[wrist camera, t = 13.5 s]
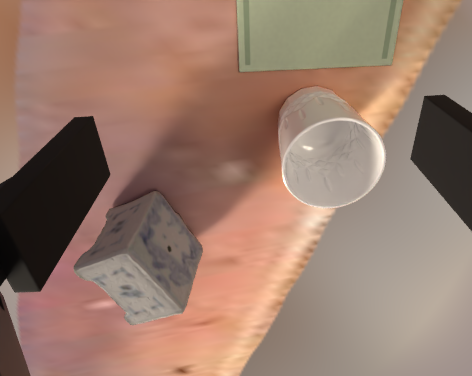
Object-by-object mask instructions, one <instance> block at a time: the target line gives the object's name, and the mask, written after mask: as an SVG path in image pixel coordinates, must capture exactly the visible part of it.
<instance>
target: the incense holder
mask: <svg viewBox="0 0 472 376" xmlns="http://www.w3.org/2000/svg"><path fill="white" fill-rule="evenodd" d="M106 219H107V221H106V225H105V227H104V228H103V230H102V232H101V234H100V235H99V236H98V238H97V240H96V242H95V244H94V245H93V246H92V247H91V248H90V250H88V251H87V252H85V253H83V255H82V256H81V257H80V258H79V259H78V261H77V262H76V264H75V265H74V272H75V273H76V275H77V276H79V277H80V278H82V279H84V280H87V281H93V282H95V283H96V284H97V285H98V286H100V287H101V288H102V289H103V290H104V291H105V292H106V293H107V294H108V295H109V296H110V297H111V298H112V299H113V300H114V301H115V302H116V303H117V305H119V306H120V307H121V308H122V309H123V310H124V311H125V312H126V314H125V317H124V318H125V320H126V321H127V322H128V323H129V324H130V325H136V324H141V323H145V322H150V321H152V320H157V319H160V318H165V317H169V316H172V315H176V314H182V313H183V312H184V309H185V308H186V305H187V302H188V298H189V295H190V292H191V289H192V284H193V280H194V278H195V275H196V271H197V268H198V263H199V261H200V259H201V256H202V253H203V248H202V245H201V244H200V242H199V241H198V240H197V239H196V238H195V236H194V235H193V234H192V233H191V232H190V231H189V229H188V228H187V227H186V225H185V224H184V222H183V220H182V218H181V216H180V215H179V214H178V213H175V212H174V210H173V209H172V208H171V206H170V205H169V204H168V202H167V201H166V200H165V198H164V197H163V196H162V194H160V193H159V192H158V191H153V192H151V193H149V194H147V195H145V196H142V197H141V198H139V199H136V200H134V201H132V202H129V203H127V204H125V205H121V206H119V207H115V208H111V209H109V211H108V212H107V214H106Z"/></svg>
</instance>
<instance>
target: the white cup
mask: <svg viewBox="0 0 472 376" xmlns="http://www.w3.org/2000/svg"><path fill="white" fill-rule="evenodd" d="M278 139H279V151H280V159H281V167H282V175H283V179H284V182H285V185H286V187H287V188H288V190H289V191H290V193H291V194H292V195H293V196H294V197H295V198H297V199H298V200H299V201H301V202H303V203H305V204H307V205H310V206H313V207H318V208H336V207H341V206H345V205H348V204H350V203H353V202H355V201H357V200H359V199H360V198H362V197H363V196H365V195H366V194H367V193H368V192H369V191H370V190H371V189H372V188H373V187H374V186H375V185H376V184H377V182H378V181H379V179H380V177H381V176H382V174H383V171H384V168H385V164H386V149H385V146H384V142H383V140H382V138H381V136H380V135H379V134H378V132H377V131H376V130H375V129H374V128H373V127H372V126H371V125H370V124H369V123H368V122H367V121H366V120H365V119H364V118H363V117H362V116H361V115H360V114H358V113H357V112H356V110H355V109H354V108H353V107H352V106H350V105H349V104H348V103H347V102H346V101H345V100H343V99H341V98H340V97H338V96H337V95H336V94H335V93H334V92H333V91H332V90H330V89H326V88H323V87H319V86H313V87H308V88H302V89H300V90H298V91H297V92H295V93H294V94H292V95H291V96H290V97H288V98H287V100H286V101H285V103H284V104H283V106H282V108H281V109H280V111H279V119H278Z"/></svg>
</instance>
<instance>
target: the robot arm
mask: <svg viewBox="0 0 472 376" xmlns="http://www.w3.org/2000/svg"><path fill="white" fill-rule="evenodd" d="M411 160H412V161H413V162H414V164H415V165H416V166H417V167H418V168H419V170H420V171H421V172H422V173H423V174H424V175H425V177H426V178H427V179H428V180H429V181H430V183H431V184H432V185H433V186H434V187H435V188H436V189H437V191H438V192H439V193H440V194H441V196H442V197H444V199H445V200H446V201H447V203H448V204H449V205H450V206H451V207H452V209H453V210H454V211H455V212H456V213H457V214H458V215H459V217H460V218H461V219H462V220H463V221H464V223H465V224H466V225H467V226H468V227H469V229H470V230H471V231H472V113H471V112H469V111H468V110H466V109H465V108H463V107H462V106H460V105H459V104H457V103H456V102H454V101H453V100H451V99H450V98H449V97H447V96H445V95H435V96H424V101H423V105H422V110H421V114H420V118H419V123H418V127H417V132H416V136H415V141H414V145H413V150H412V154H411ZM109 176H110V171H109V168H108V165H107V161H106V158H105V155H104V151H103V148H102V145H101V141H100V138H99V135H98V131H97V128H96V124H95V121H94V118H93V116H89V117H74V118H73V119H72V120H71V121H70V122H69V123H68V124H67V125H66V126H65V127H64V128H63V129H62V130H61V131H60V132H59V133H58V134H57V135H56V136H55V137H54V138H52V139H51V140H50V141H49V142H48V143H47V144H46V145H45V146H44V147H43V148H42V149H41V150H40V151H39V152H38V153H37V154H36V155H35V156H34V157H33V158H32V159H31V160H30V161H28V162H27V163H26V164H25V165H24V166H23V167H22V168H21V169H20V170H19V171H18V172H17V173H16V174H15V175H14V176H13V177H11V178H9V179H8V180H6V181H4V182H3V183H1V184H0V286H1V284H2V283H3V282H4V280H5V279H6V278H7V280H8V282H9V284H10V285H11V287H12V289H13V290H14V292H40V291H41V290H42V288H43V286H44V285H45V283H46V281H47V280H48V278H49V276H50V275H51V273H52V271H53V270H54V268H55V266H56V265H57V263H58V261H59V260H60V258H61V256H62V255H63V253H64V251H65V250H66V248H67V246H68V245H69V243H70V241H71V240H72V238H73V236H74V235H75V233H76V231H77V230H78V228H79V226H80V225H81V223H82V221H83V220H84V218H85V216H86V215H87V213H88V211H89V210H90V208H91V206H92V205H93V203H94V201H95V200H96V198H97V196H98V195H99V193H100V191H101V190H102V188H103V186H104V185H105V183H106V181H107V180H108V178H109ZM0 376H30V373H29V370H28V367H27V364H26V361H25V358H24V355H23V352H22V349H21V346H20V344H19V341H18V338H17V335H16V332H15V329H14V326H13V323H12V320H11V317H10V315H9V311H8V308H7V306H6V303H5V300H4V297H3V295H2V294H1V292H0Z"/></svg>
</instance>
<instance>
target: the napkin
mask: <svg viewBox="0 0 472 376" xmlns="http://www.w3.org/2000/svg"><path fill="white" fill-rule="evenodd" d="M402 5H403V0H237V25H238V49H239V72H254V71H276V70H297V69H319V68H341V67H363V66H384V65H392V61H393V55H394V50H395V44H396V38H397V33H398V27H399V22H400V16H401V10H402Z"/></svg>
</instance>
